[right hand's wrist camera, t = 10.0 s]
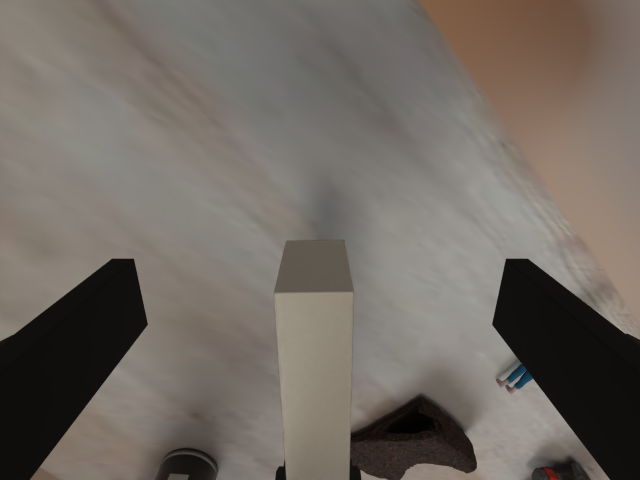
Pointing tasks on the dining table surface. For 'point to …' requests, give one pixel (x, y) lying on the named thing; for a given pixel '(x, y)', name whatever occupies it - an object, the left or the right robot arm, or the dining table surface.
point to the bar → (315, 358)
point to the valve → (543, 476)
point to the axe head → (412, 443)
